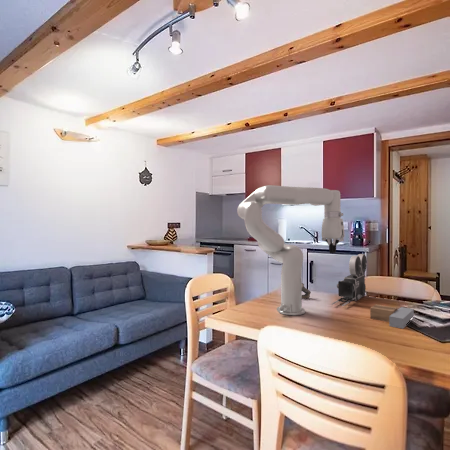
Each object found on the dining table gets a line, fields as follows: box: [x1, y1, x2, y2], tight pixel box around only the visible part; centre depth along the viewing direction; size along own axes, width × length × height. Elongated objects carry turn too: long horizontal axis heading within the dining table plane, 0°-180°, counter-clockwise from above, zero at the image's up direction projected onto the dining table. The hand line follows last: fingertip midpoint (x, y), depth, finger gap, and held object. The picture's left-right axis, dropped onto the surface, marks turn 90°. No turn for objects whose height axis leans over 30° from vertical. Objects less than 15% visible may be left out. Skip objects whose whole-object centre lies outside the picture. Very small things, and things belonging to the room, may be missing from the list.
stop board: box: [388, 306, 415, 330], centre depth 134 cm, size 18×5×4 cm, turn 138°
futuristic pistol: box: [302, 282, 311, 299], centre depth 177 cm, size 2×15×10 cm, turn 82°
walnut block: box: [369, 304, 399, 323], centre depth 139 cm, size 7×9×5 cm
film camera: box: [331, 253, 368, 307], centre depth 172 cm, size 40×12×24 cm, turn 141°
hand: (332, 252), depth 156 cm, fingers closed
